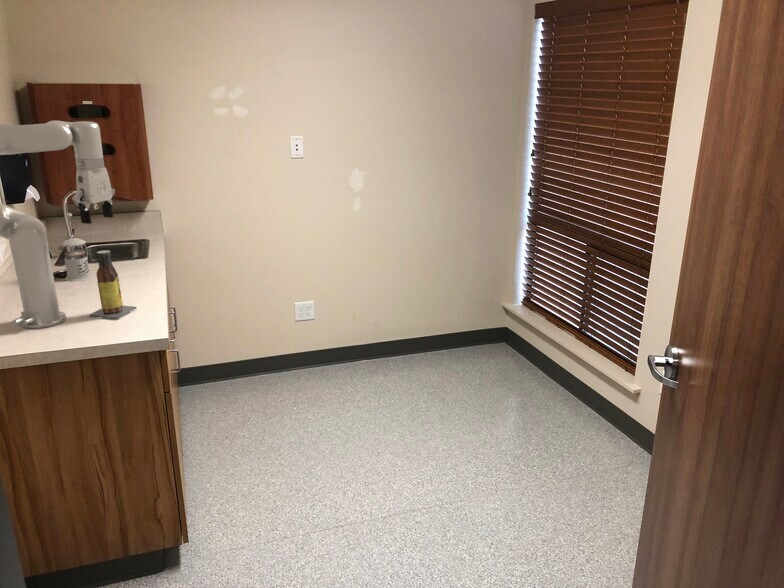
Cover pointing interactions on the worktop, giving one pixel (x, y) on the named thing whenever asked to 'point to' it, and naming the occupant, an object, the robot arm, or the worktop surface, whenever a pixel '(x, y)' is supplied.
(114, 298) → the sauce bottle
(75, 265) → the french press
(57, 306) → the robot arm
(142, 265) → the worktop surface
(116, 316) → the coaster
